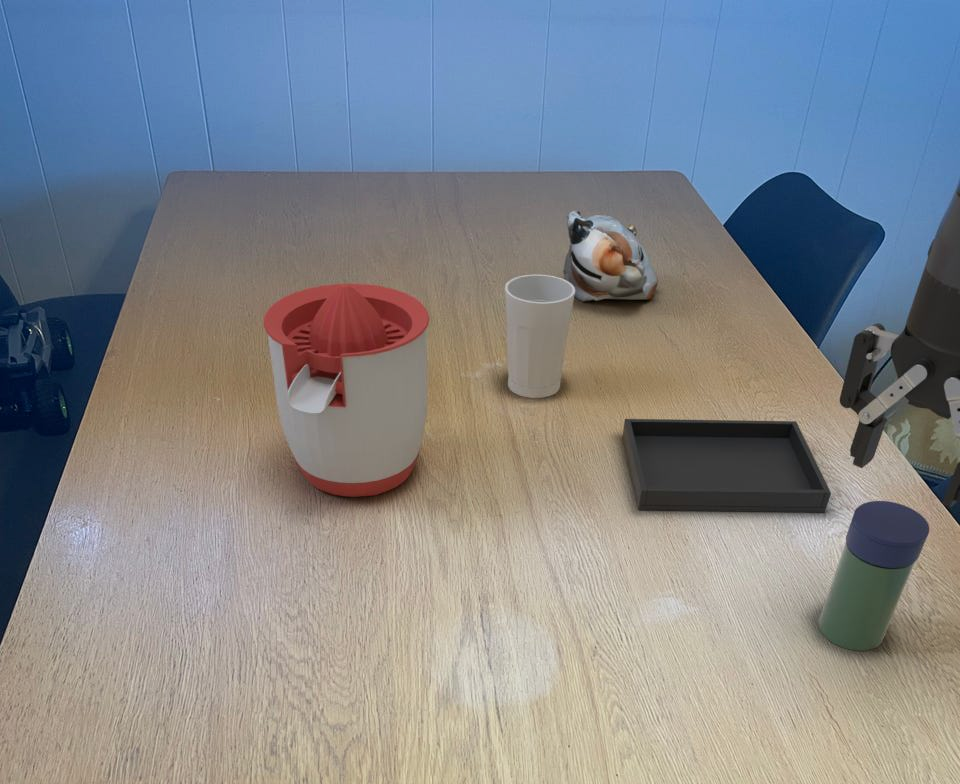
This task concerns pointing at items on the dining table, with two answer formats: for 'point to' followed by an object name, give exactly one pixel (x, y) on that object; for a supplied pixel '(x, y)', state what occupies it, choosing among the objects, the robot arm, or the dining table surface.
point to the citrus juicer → (351, 384)
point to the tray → (723, 466)
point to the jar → (861, 602)
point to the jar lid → (887, 534)
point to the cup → (537, 332)
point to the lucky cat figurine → (607, 260)
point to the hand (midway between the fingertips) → (905, 481)
